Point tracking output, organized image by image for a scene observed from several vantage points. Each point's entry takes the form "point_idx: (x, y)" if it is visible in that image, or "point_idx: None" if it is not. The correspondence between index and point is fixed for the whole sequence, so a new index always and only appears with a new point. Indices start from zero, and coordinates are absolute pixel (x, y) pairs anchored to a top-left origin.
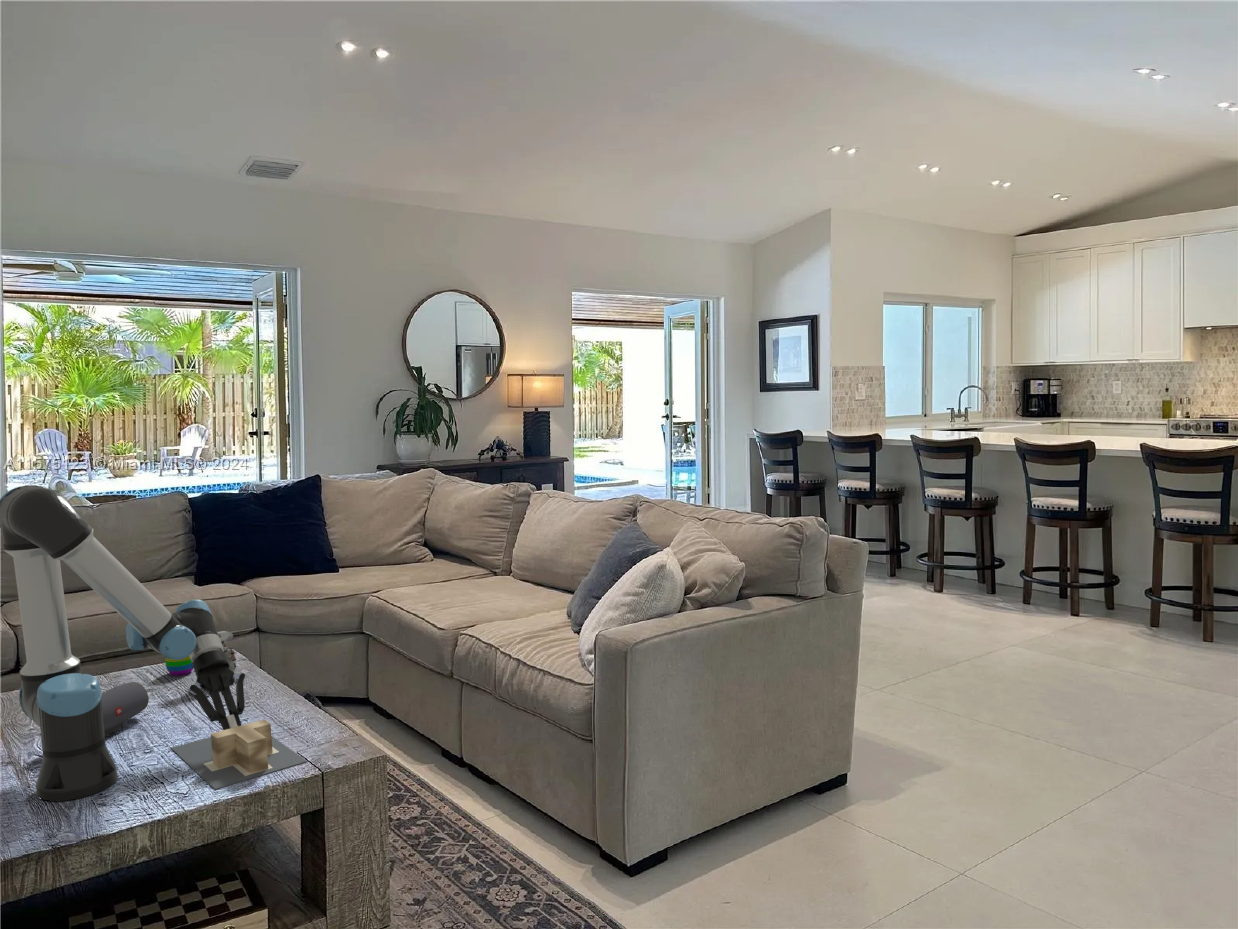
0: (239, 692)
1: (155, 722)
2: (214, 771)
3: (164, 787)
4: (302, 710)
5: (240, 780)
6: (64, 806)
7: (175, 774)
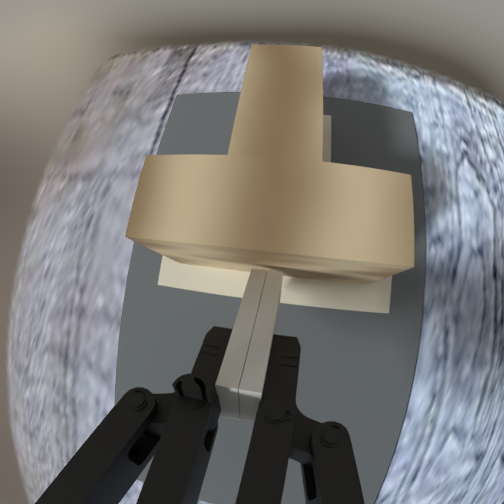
0: (80, 491)
1: None
2: None
3: (496, 234)
4: (22, 429)
5: (350, 103)
6: None
7: (463, 304)
